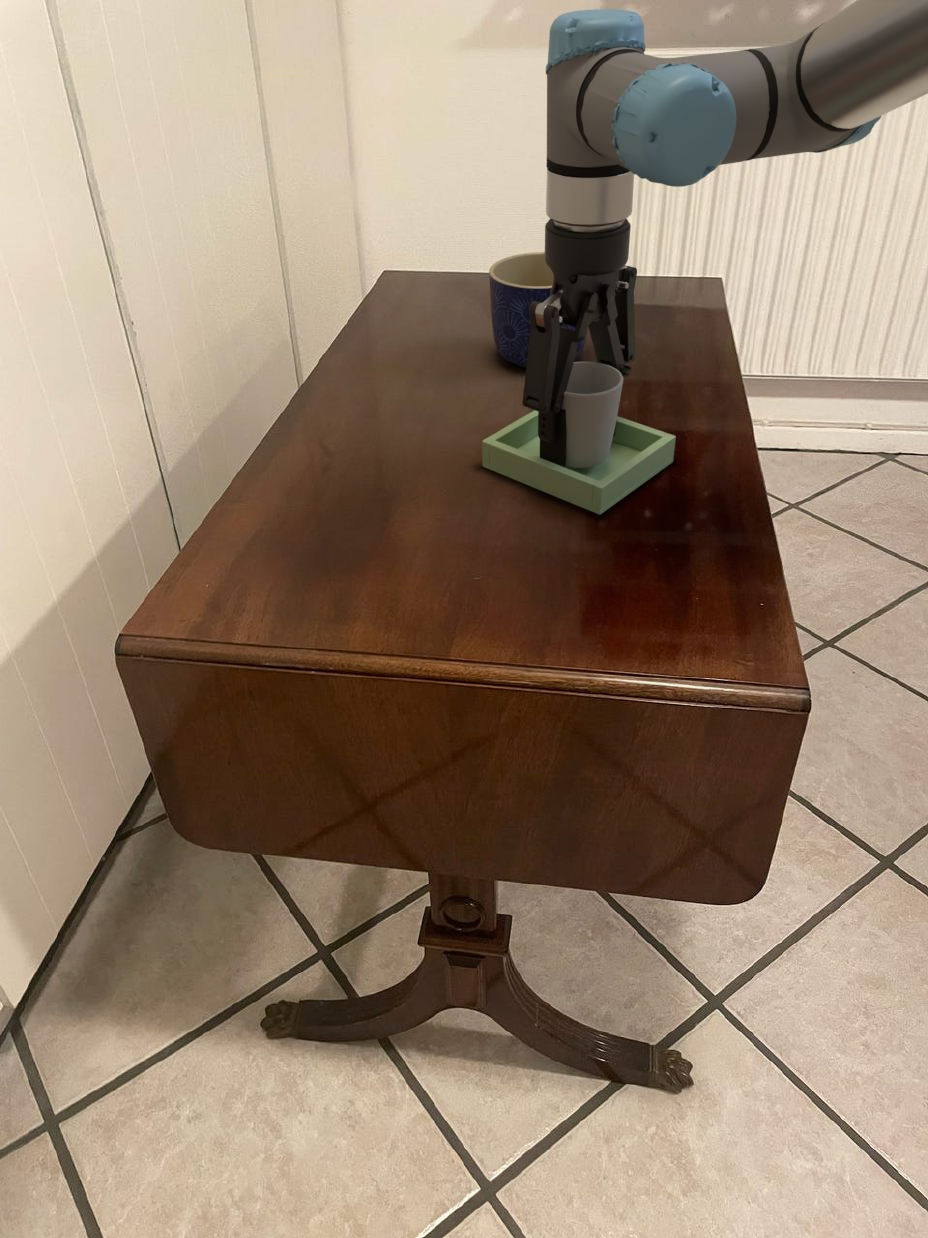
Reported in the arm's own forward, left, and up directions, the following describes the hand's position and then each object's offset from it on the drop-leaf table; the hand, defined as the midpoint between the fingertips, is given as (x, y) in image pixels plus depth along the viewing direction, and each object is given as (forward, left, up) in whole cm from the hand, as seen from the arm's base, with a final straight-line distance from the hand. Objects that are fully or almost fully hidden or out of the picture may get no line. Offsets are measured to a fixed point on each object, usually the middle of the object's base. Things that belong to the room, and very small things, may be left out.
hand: (578, 448), depth 98 cm
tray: (0, 0, -2) cm, 2 cm away
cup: (0, 0, 0) cm, 1 cm away
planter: (+20, -19, -2) cm, 28 cm away
